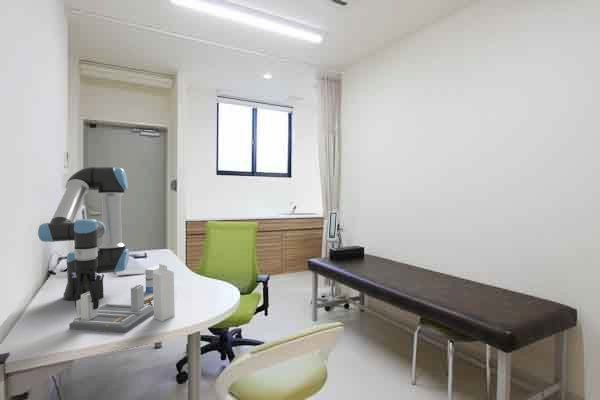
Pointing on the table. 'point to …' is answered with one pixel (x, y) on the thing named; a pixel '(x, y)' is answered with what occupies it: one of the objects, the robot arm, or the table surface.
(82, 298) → the block
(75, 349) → the table surface
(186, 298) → the table surface
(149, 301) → the figurine
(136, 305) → the fader
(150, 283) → the ink box
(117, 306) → the grey flat tray
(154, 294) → the milk
